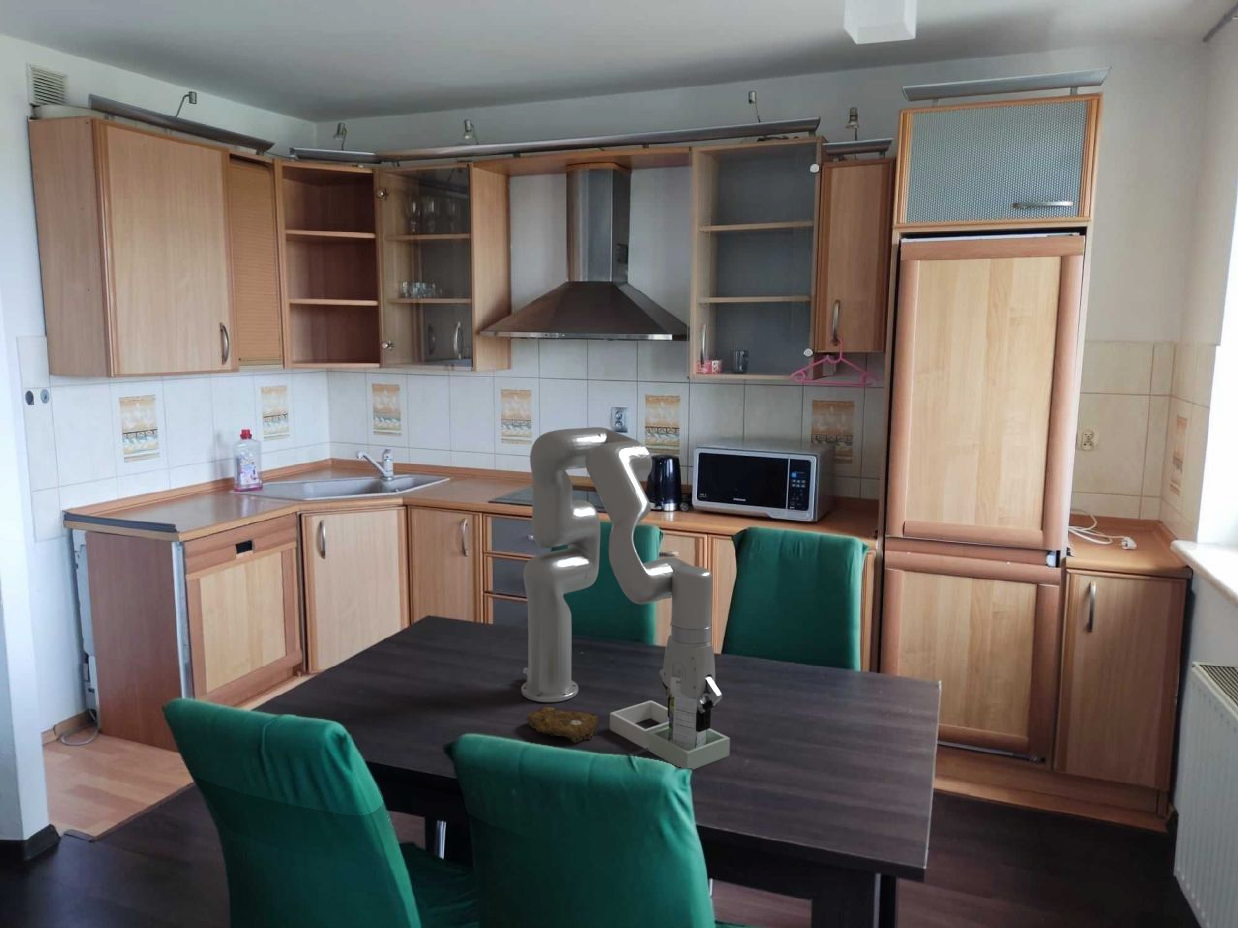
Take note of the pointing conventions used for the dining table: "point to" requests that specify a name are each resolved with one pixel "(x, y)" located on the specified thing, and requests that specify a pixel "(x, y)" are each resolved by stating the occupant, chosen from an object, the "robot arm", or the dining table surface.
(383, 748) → the dining table surface
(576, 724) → the decorative rock
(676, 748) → the bin
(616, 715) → the bin
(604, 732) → the dining table surface
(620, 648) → the dining table surface
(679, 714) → the syrup box
